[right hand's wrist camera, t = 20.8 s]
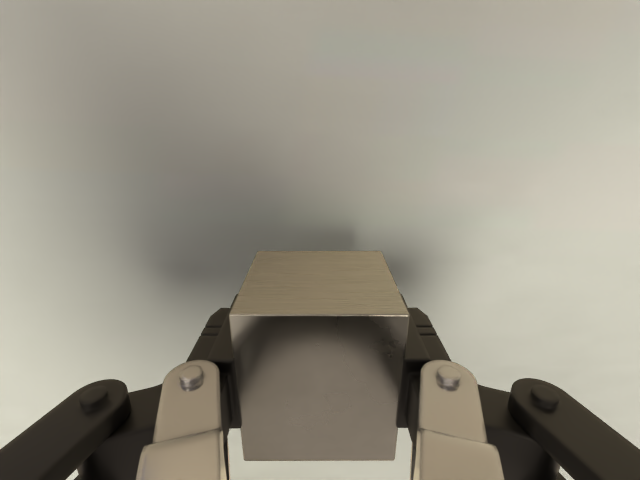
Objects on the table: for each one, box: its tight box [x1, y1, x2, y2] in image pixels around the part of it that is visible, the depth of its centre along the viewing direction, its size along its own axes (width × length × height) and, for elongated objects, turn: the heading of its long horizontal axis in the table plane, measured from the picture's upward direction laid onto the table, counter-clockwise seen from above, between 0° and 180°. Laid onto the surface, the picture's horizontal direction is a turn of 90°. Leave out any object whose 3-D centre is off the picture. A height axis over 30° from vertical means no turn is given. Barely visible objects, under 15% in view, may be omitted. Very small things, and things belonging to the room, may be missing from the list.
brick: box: [229, 251, 409, 461], centre depth 11 cm, size 4×5×4 cm
